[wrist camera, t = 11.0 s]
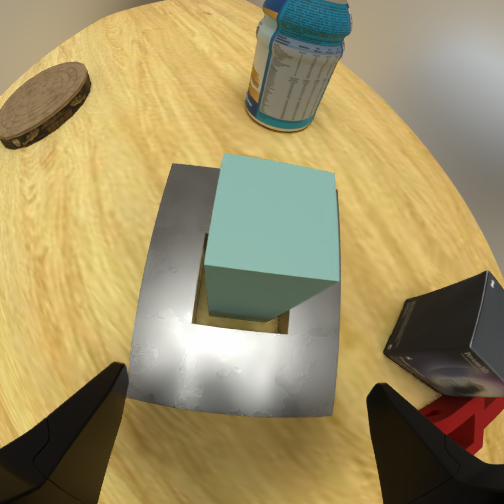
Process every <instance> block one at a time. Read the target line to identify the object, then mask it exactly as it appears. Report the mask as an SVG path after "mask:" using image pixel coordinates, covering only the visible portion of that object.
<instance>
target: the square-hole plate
mask: <svg viewBox="0 0 504 504" xmlns="http://www.w3.org/2000/svg"><path fill="white" fill-rule="evenodd" d="M220 170H221V169H218V168H210V167H202V166H193V165H184V164H174V163H172V166H171V170H170V173H169V176H168V179H167V183H166V186H165V189H164V193H163V196H162V200H161V203H160V207H159V211H158V214H157V218H156V222H155V226H154V230H153V234H152V238H151V242H150V246H149V251H148V255H147V260H146V264H145V269H144V274H143V279H142V284H141V289H140V294H139V300H138V306H137V312H136V318H135V324H134V331H133V338H132V346H131V354H130V362H129V372H128V377H129V385H128V390H127V395H126V397H128V398H132V399H136V400H140V401H144V402H149V403H154V404H158V405H163V406H169V407H174V408H180V409H186V410H193V411H200V412H208V413H217V414H227V415H238V416H254V417H323V416H332V414H333V405H334V397H335V387H336V376H337V364H338V349H339V331H340V300H341V255H340V224H339V205H338V191H337V190H336V200H337V217H338V239H339V282H337V283H335V284H334V285H332V286H330V287H329V288H327V289H325V290H324V291H322V292H320V293H318V294H317V295H315V296H313V297H311V298H310V299H308V300H306V301H304V302H302V303H301V304H299V305H297V306H295V307H293V308H292V309H290V310H288V311H286V312H284V313H282V314H281V315H280V316H279V328H278V334H274V333H264V332H253V331H244V330H235V329H227V328H219V327H212V326H204V325H197V324H195V319H196V311H197V304H198V297H199V290H200V283H201V276H202V270H203V264H204V257H205V251H206V248H207V242H208V236H209V230H210V224H211V218H212V213H213V207H214V201H215V196H216V190H217V185H218V180H219V175H220Z"/></svg>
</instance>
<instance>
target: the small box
mask: <svg viewBox="0 0 504 504" xmlns="http://www.w3.org/2000/svg"><path fill="white" fill-rule="evenodd" d="M384 354H385V355H386V356H387V357H389V358H390V359H392V360H393V361H394V362H396V363H397V364H399V365H400V366H401V367H403V368H404V369H406V370H407V371H408V372H410V373H411V374H413V375H414V376H416V377H417V378H419V379H420V380H421V381H423V382H424V383H425V384H427V385H428V386H430V387H431V388H433V389H434V390H435V391H437V392H438V393H440V394H441V395H444V396H462V397H504V289H503V288H502V286H501V285H500V284H499V282H498V281H497V280H496V279H495V277H494V276H493V275H492V274H491V272H490V271H489V270H486V271H484V272H482V273H481V274H478V275H475V276H473V277H471V278H468V279H465V280H463V281H460V282H458V283H455V284H452V285H449V286H447V287H444V288H441V289H438V290H436V291H433V292H430V293H427V294H424V295H421V296H417V297H414V298H410V299H407V300H406V302H405V305H404V308H403V311H402V313H401V316H400V318H399V320H398V323H397V325H396V327H395V329H394V331H393V333H392V335H391V336H390V339H389V341H388V344H387V346H386V348H385V351H384Z"/></svg>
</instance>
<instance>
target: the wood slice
mask: <svg viewBox="0 0 504 504" xmlns="http://www.w3.org/2000/svg"><path fill="white" fill-rule="evenodd" d="M90 88H91V81H90V78H89V75H88V71H87V69H86V67H85V65H84V64H82V63H79V62H66V63H62V64H59V65H56V66H53V67H51V68H48V69H46V70H44V71H42V72H40V73H39V74H37V75H35V76H34V77H32V78H31V79H29V80H28V81H27V82H25V83H24V84H23V85H22V86H21V87H19V88H18V89H17V90H16V91H15V92H14V93H13V94H12V95H11V96H10V97H9V99H8V100H7V101H6V102H5V104H4V105H3V107H2V108H1V110H0V140H1V142H2V143H3V144H4V146H5V147H6V148H9V149H14V150H16V149H20V148H24V147H28V146H30V145H32V144H34V143H36V142H38V141H40V140H42V139H43V138H45V137H46V136H48V135H49V134H51V133H52V132H54V131H55V130H57V129H58V128H59V127H60V126H62V125H63V124H64V123H65V122H66V121H67V120H68V119H70V118H71V117H72V116H73V115H74V114H75V113H76V111H77V110H78V109H79V108H80V107H81V106H82V105H83V104H84V102H85V100H86V98H87V96H88V95H89V93H90Z"/></svg>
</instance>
